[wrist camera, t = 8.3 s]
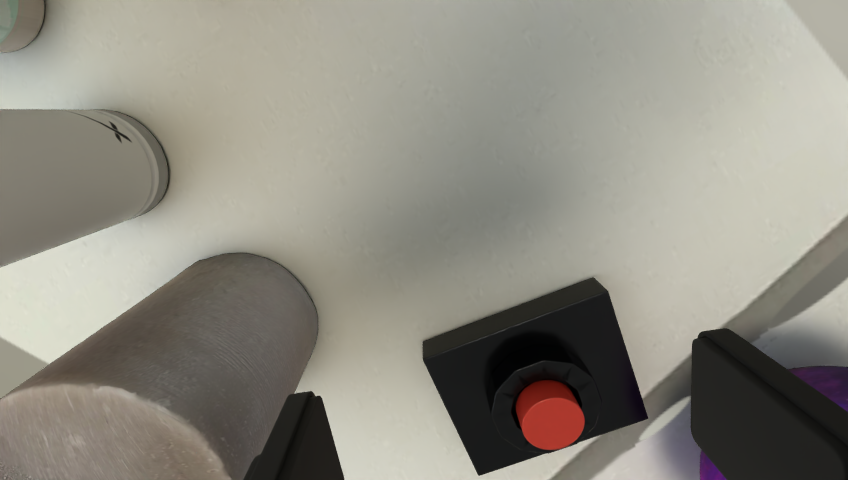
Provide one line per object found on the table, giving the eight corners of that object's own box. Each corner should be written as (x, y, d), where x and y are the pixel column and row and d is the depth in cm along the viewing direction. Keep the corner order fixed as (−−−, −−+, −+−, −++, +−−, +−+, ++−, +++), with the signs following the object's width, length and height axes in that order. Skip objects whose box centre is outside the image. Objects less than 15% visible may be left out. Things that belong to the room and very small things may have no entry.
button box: (593, 276, 27) (621, 303, 24) (632, 397, 30) (663, 439, 26) (422, 341, 29) (422, 376, 25) (474, 452, 31) (482, 499, 28)
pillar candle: (168, 368, 29) (-77, 619, 15) (176, 234, 26) (-114, 383, 12) (309, 394, 30) (207, 658, 15) (332, 267, 27) (234, 443, 13)
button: (564, 371, 25) (574, 389, 24) (581, 417, 26) (592, 438, 25) (507, 391, 26) (513, 411, 24) (526, 436, 27) (533, 458, 25)
